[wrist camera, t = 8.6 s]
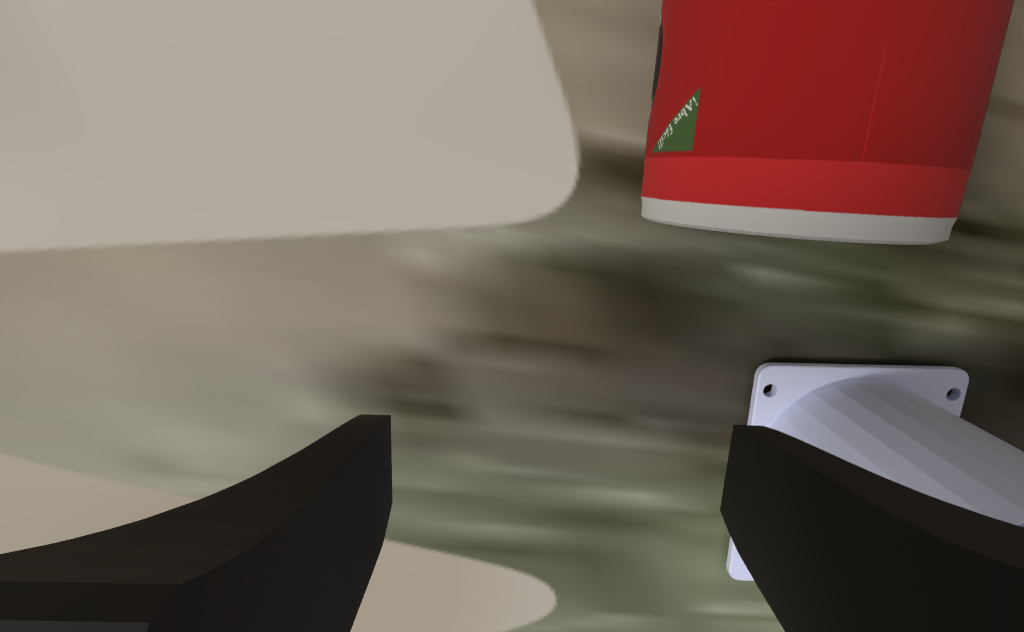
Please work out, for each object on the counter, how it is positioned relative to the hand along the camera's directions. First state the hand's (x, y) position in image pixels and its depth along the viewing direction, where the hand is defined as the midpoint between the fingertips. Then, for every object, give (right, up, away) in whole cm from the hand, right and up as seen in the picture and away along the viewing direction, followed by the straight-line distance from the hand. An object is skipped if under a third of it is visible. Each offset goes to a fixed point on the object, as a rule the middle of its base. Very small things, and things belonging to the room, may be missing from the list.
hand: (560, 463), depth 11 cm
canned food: (+7, +16, +2) cm, 18 cm away
